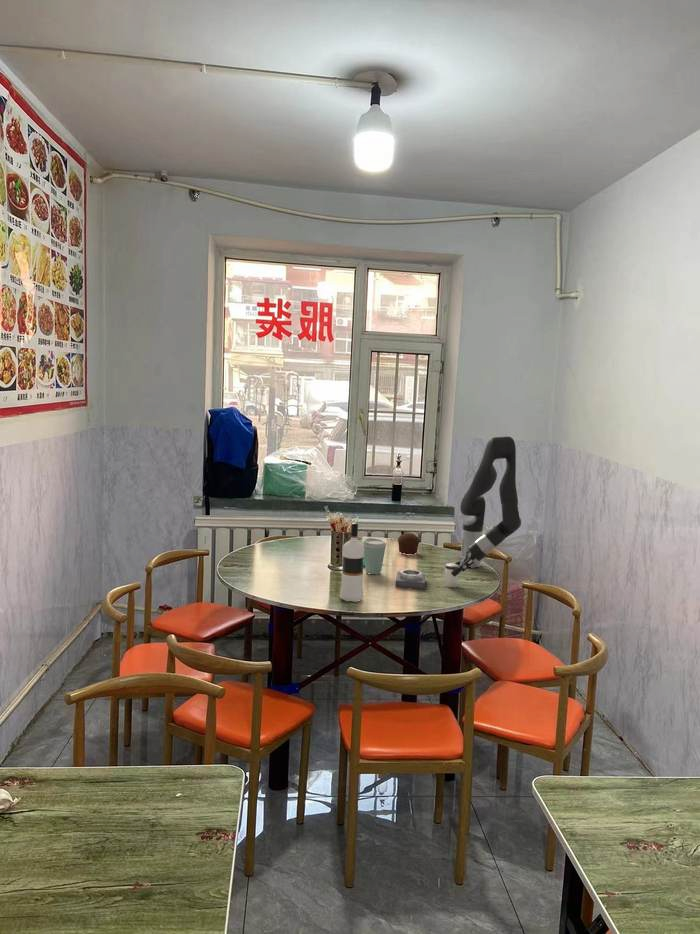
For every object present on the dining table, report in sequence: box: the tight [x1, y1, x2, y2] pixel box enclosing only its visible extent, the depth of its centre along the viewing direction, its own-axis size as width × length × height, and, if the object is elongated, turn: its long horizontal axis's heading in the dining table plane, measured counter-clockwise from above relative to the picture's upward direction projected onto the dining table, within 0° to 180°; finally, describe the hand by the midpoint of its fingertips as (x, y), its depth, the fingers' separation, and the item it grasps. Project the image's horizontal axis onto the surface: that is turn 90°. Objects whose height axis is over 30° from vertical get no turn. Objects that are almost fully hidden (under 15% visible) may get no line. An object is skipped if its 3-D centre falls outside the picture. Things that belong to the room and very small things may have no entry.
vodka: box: [339, 522, 365, 601], centre depth 262 cm, size 9×9×30 cm
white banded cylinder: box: [443, 562, 459, 588], centre depth 288 cm, size 6×6×9 cm
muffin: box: [396, 532, 421, 554], centre depth 341 cm, size 12×11×10 cm
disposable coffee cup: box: [362, 537, 387, 575], centre depth 301 cm, size 11×11×15 cm
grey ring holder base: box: [394, 568, 426, 591], centre depth 288 cm, size 14×12×5 cm
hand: (452, 572), depth 287 cm, fingers open, 8 cm apart
